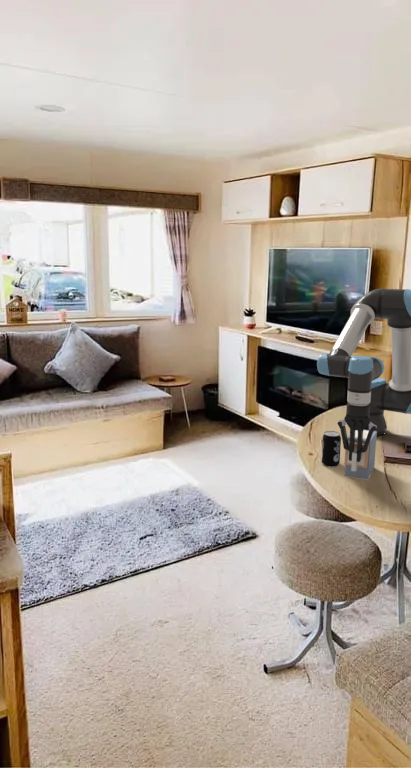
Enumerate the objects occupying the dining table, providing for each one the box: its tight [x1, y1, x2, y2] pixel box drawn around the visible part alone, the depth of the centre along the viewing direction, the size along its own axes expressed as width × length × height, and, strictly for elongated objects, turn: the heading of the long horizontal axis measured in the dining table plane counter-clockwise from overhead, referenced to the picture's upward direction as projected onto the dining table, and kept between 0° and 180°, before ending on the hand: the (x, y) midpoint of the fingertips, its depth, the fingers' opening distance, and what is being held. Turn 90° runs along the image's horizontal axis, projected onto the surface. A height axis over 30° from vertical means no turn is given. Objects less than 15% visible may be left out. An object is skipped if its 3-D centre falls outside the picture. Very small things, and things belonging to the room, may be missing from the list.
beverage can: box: [321, 430, 342, 468], centre depth 206 cm, size 7×7×12 cm
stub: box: [343, 442, 369, 468], centre depth 191 cm, size 8×8×1 cm
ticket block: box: [344, 430, 377, 481], centre depth 198 cm, size 12×8×14 cm, turn 153°
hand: (354, 469), depth 190 cm, fingers closed
